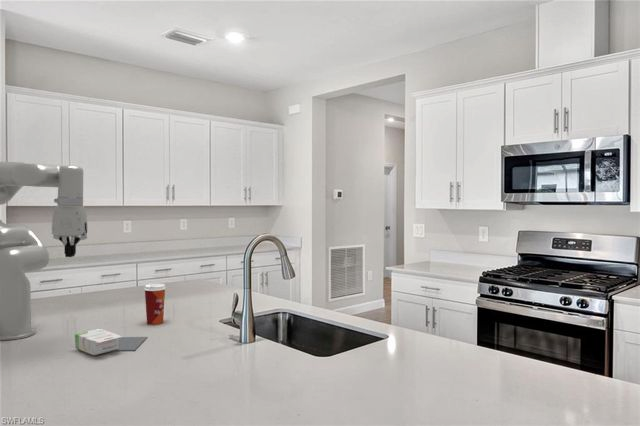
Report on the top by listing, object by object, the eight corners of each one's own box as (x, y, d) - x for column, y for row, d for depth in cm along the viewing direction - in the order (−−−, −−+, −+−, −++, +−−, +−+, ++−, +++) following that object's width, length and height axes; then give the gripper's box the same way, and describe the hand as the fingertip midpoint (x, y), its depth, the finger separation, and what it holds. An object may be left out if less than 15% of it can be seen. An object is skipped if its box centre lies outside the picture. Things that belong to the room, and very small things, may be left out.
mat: (86, 351, 148) (86, 350, 148) (103, 338, 162) (103, 337, 162) (135, 350, 149) (135, 349, 149) (147, 337, 163) (147, 336, 163)
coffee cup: (161, 325, 179) (161, 287, 178) (140, 325, 179) (140, 287, 178) (169, 320, 187) (169, 283, 186) (149, 319, 187) (148, 283, 187)
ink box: (74, 348, 150) (97, 358, 141) (74, 333, 150) (97, 342, 141) (100, 342, 157) (124, 351, 148) (100, 327, 156) (124, 335, 147)
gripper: (41, 202, 152) (41, 257, 153) (88, 203, 153) (87, 258, 153) (53, 201, 159) (53, 254, 160) (98, 203, 160) (97, 255, 161)
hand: (70, 256), depth 157 cm, fingers closed
